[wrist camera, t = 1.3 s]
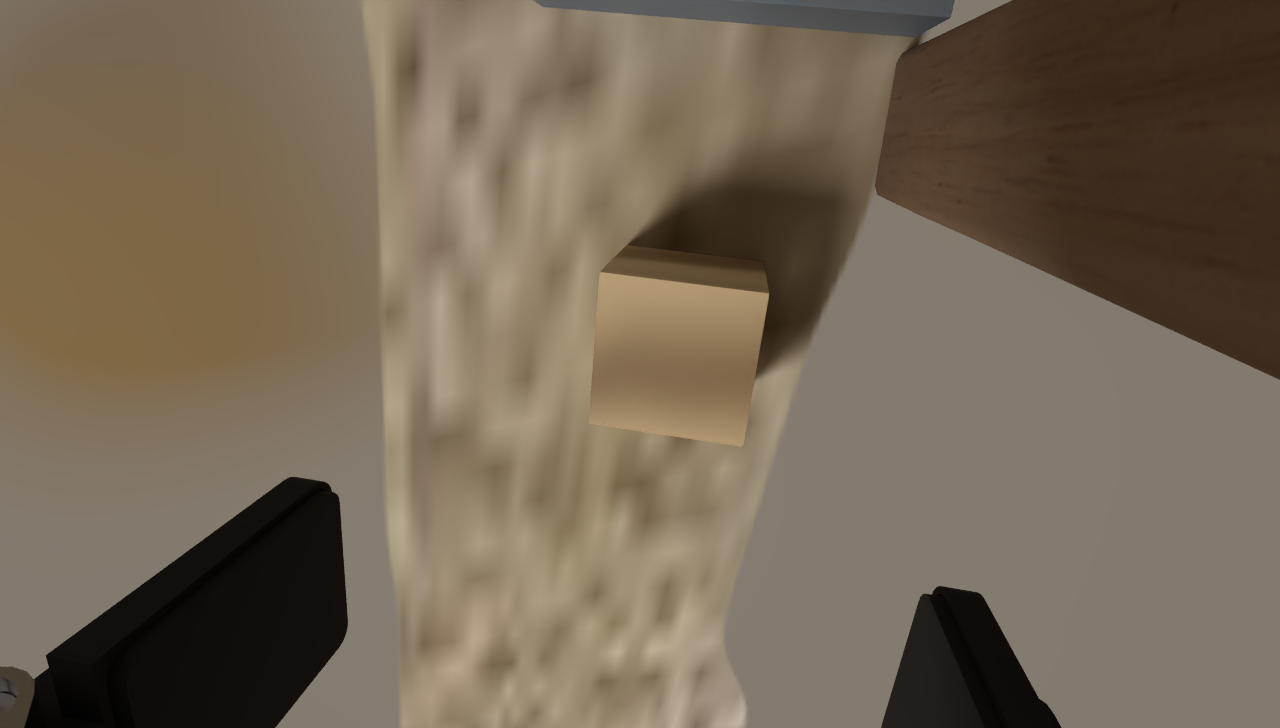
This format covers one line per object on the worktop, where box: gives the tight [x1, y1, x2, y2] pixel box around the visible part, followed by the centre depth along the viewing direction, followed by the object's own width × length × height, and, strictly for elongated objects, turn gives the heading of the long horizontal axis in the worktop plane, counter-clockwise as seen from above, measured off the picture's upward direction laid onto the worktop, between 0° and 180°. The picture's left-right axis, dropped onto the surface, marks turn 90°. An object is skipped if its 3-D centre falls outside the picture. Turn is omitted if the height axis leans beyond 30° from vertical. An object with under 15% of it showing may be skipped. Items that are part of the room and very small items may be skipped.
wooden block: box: [875, 0, 1280, 380], centre depth 12 cm, size 9×4×18 cm, turn 87°
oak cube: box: [589, 245, 769, 447], centre depth 22 cm, size 5×5×5 cm
